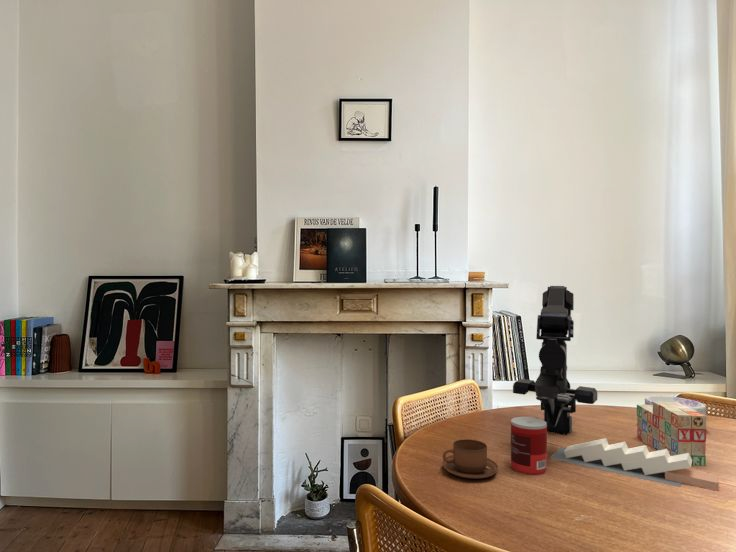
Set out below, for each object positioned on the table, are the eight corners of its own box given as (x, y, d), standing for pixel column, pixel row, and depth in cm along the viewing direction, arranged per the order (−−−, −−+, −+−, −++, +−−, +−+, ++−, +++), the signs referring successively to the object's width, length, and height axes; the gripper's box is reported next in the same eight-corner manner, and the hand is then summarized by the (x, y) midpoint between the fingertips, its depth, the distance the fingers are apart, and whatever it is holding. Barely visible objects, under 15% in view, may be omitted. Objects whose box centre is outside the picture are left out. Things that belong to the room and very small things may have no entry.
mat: (549, 460, 114) (549, 458, 114) (561, 449, 122) (561, 446, 122) (680, 489, 99) (680, 487, 99) (684, 474, 107) (684, 471, 107)
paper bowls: (709, 427, 142) (709, 400, 142) (701, 439, 131) (701, 410, 131) (650, 417, 152) (650, 392, 153) (638, 428, 141) (638, 400, 141)
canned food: (546, 466, 111) (546, 418, 111) (547, 479, 103) (547, 428, 103) (511, 462, 113) (511, 414, 113) (509, 474, 106) (510, 424, 106)
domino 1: (563, 451, 115) (601, 443, 110) (569, 445, 119) (606, 438, 114) (566, 458, 114) (604, 450, 109) (571, 452, 118) (609, 444, 113)
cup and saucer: (465, 488, 99) (465, 457, 99) (431, 467, 110) (431, 440, 110) (509, 477, 105) (509, 448, 105) (473, 459, 115) (473, 433, 115)
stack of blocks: (636, 438, 132) (636, 392, 132) (660, 439, 131) (660, 393, 132) (677, 468, 111) (677, 414, 111) (706, 469, 110) (706, 415, 110)
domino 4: (621, 463, 107) (664, 455, 102) (625, 456, 111) (667, 448, 106) (624, 470, 107) (668, 462, 102) (628, 463, 111) (670, 456, 106)
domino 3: (601, 459, 110) (642, 451, 105) (605, 453, 114) (645, 445, 109) (604, 466, 109) (646, 458, 105) (608, 459, 113) (649, 452, 109)
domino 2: (581, 455, 112) (621, 447, 107) (586, 449, 116) (625, 441, 111) (584, 462, 112) (624, 454, 107) (589, 456, 116) (628, 448, 111)
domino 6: (665, 471, 102) (717, 482, 97) (667, 464, 106) (717, 475, 101) (665, 479, 102) (717, 490, 97) (667, 471, 106) (717, 482, 101)
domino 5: (641, 467, 105) (686, 459, 100) (644, 460, 109) (688, 452, 104) (644, 475, 105) (690, 467, 100) (648, 468, 109) (692, 460, 104)
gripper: (505, 362, 118) (505, 427, 118) (588, 371, 107) (587, 442, 107) (520, 356, 127) (520, 416, 127) (597, 364, 116) (597, 430, 116)
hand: (553, 426), depth 119 cm, fingers closed
